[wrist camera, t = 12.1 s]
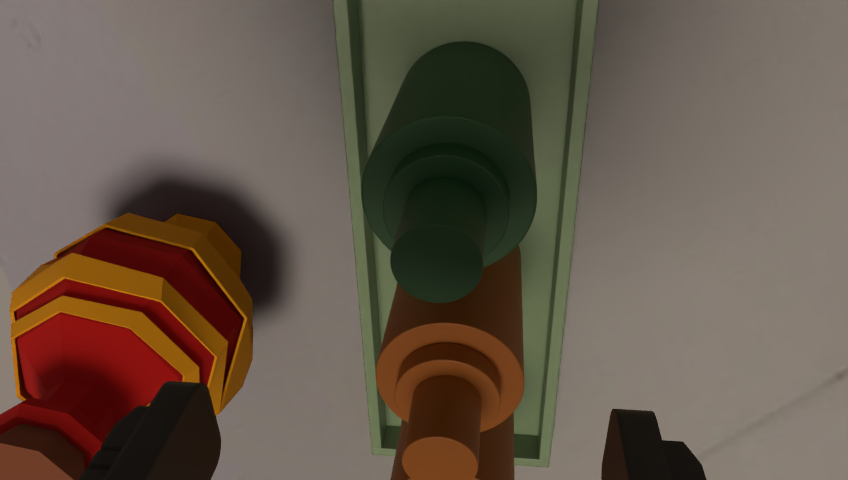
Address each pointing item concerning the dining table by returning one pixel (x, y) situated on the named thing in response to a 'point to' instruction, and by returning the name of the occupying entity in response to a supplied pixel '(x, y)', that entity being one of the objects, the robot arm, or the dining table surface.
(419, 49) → the tray
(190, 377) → the potion bottle
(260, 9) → the dining table surface
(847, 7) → the dining table surface
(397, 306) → the amber bottle mid
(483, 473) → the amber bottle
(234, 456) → the dining table surface
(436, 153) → the green bottle
